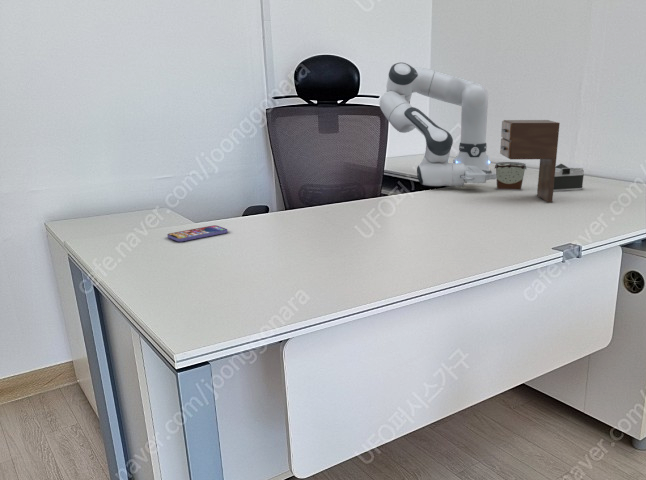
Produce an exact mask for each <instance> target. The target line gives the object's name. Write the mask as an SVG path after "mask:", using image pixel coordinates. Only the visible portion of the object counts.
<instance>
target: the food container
mask: <svg viewBox="0 0 646 480" xmlns="http://www.w3.org/2000/svg"><path fill="white" fill-rule="evenodd" d="M494 170H495V174H496V175H497V176H496V179H495V180H496V190H498V191H501V190H505V191H511V190H512V191H522V187H523V182H524V177H525V170H527V164H526V163H524V162H520V161H500V162H498V161H497V162H496V163H495V165H494Z"/></svg>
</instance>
